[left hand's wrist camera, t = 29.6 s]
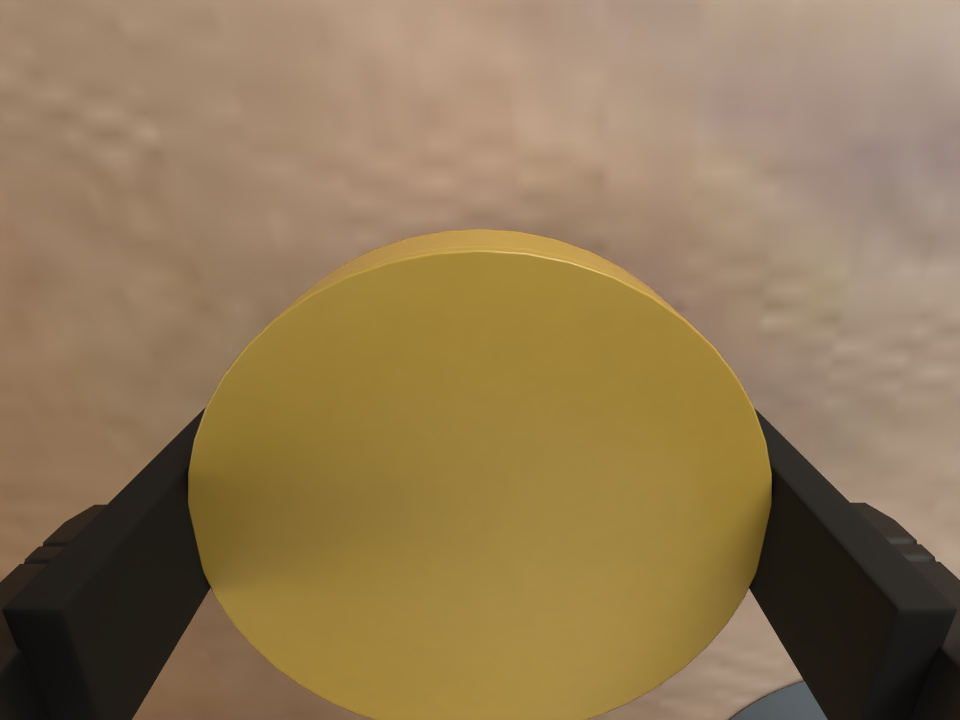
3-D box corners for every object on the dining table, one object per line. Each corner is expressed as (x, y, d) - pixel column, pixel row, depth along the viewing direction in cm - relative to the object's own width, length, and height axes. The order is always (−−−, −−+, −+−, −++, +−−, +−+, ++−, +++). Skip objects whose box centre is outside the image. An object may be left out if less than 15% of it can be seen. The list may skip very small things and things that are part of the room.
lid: (479, 715, 15) (478, 802, 13) (137, 473, 13) (71, 537, 11) (822, 475, 13) (887, 539, 11) (481, 97, 10) (480, 87, 8)
